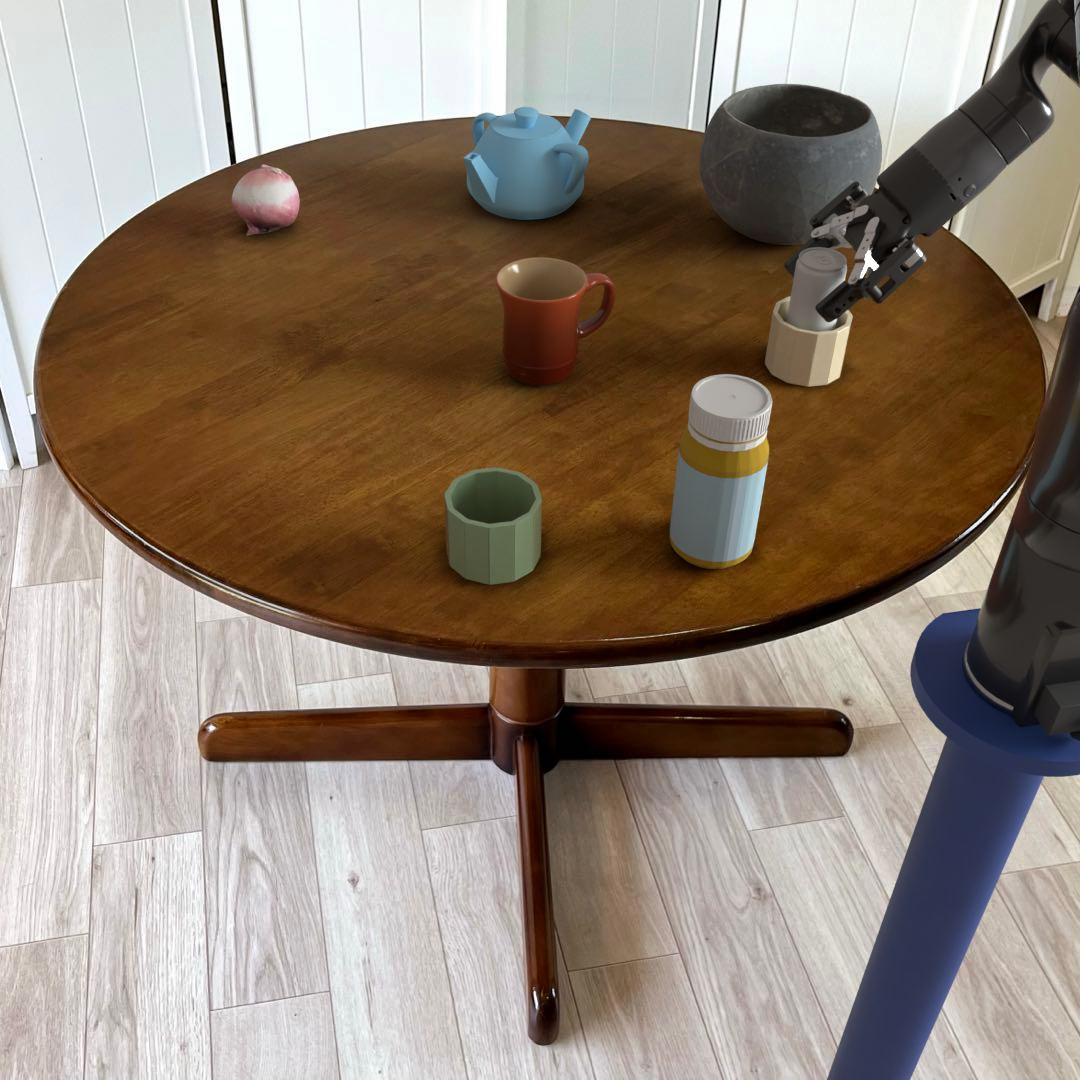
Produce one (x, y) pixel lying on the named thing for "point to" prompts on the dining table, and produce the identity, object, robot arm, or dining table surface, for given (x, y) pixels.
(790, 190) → the bowl
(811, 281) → the beverage can
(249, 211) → the onion
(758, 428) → the bottle
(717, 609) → the dining table surface
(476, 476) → the holder
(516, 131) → the teapot
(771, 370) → the holder
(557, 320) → the mug
